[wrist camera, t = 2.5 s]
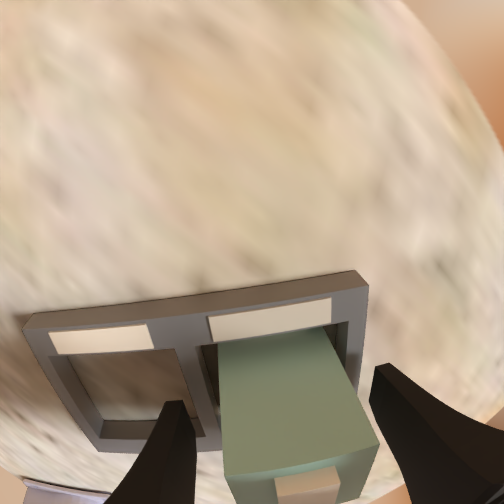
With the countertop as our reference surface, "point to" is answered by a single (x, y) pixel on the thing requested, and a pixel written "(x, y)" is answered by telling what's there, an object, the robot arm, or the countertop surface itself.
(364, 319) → the dock
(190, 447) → the robot arm
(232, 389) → the plug
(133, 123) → the countertop surface
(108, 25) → the countertop surface
